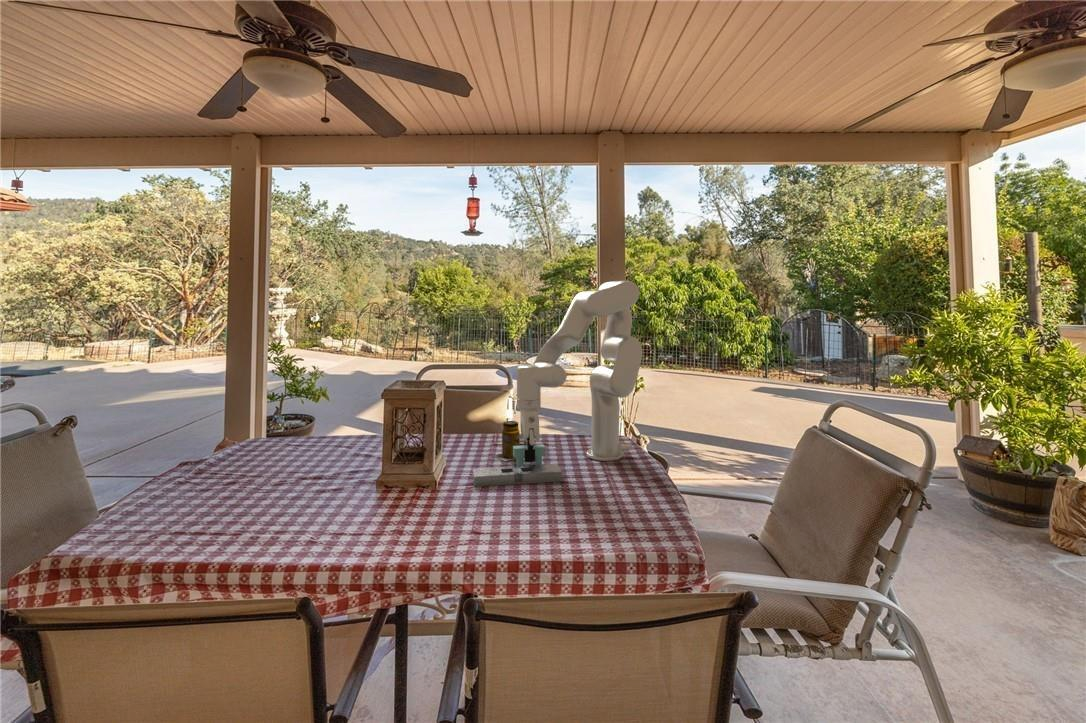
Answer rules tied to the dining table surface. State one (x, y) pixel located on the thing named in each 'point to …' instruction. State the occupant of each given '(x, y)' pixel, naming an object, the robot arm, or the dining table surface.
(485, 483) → the rail
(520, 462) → the clip
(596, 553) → the dining table surface
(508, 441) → the condiment
